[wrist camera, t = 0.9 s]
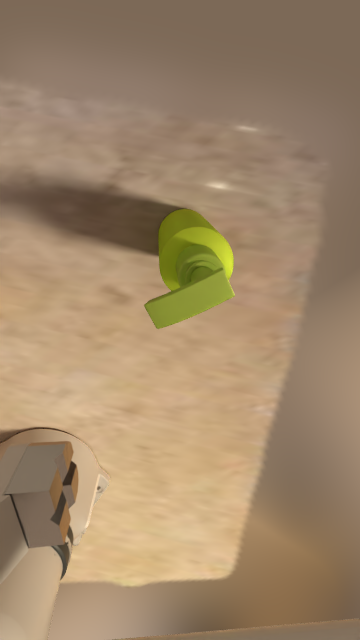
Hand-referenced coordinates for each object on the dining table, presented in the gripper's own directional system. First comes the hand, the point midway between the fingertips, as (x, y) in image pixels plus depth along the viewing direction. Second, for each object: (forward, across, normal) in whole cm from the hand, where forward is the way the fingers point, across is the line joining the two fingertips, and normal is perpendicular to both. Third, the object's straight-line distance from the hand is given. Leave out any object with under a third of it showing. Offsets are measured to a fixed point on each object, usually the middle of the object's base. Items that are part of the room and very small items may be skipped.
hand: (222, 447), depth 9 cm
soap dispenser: (+33, 0, 0) cm, 33 cm away
